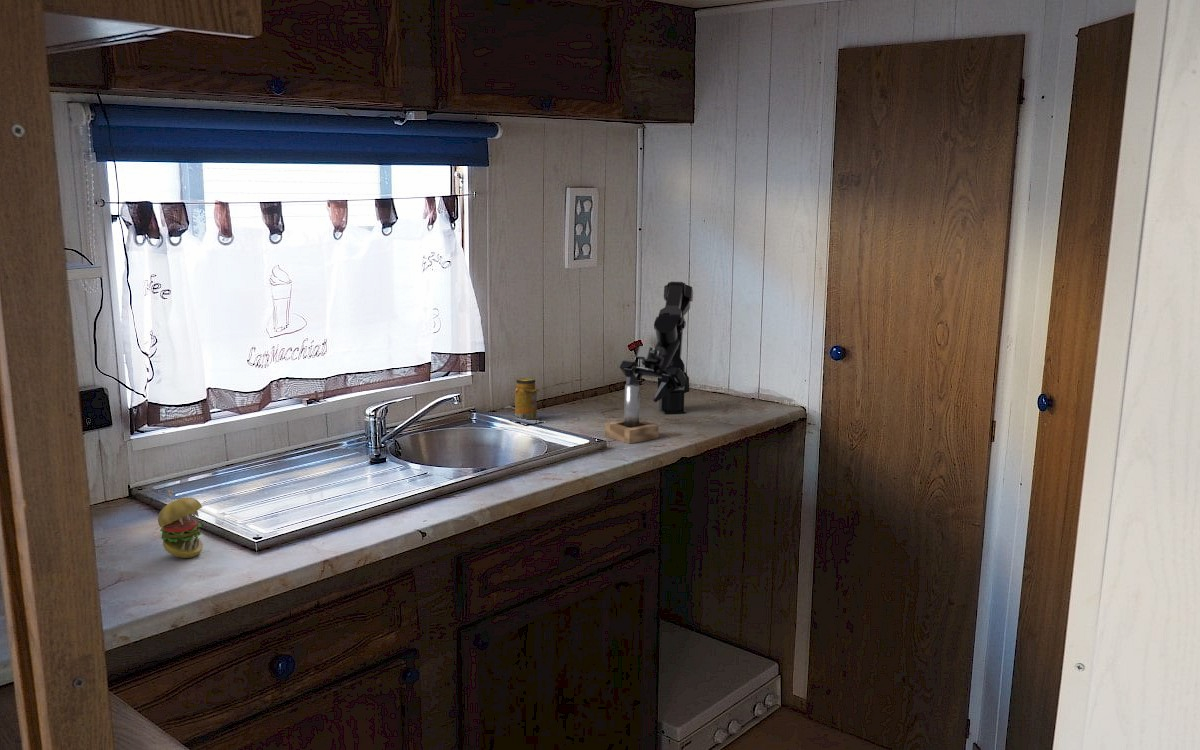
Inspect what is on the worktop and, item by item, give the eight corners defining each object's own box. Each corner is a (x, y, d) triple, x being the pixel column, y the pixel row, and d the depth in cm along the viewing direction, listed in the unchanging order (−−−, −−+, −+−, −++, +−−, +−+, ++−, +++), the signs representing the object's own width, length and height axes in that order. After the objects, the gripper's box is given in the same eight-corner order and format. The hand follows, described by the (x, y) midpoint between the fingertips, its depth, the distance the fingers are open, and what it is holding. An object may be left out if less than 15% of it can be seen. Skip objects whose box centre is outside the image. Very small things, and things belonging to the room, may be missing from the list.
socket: (633, 430, 278) (633, 418, 277) (658, 438, 270) (658, 425, 270) (604, 436, 272) (605, 423, 271) (629, 443, 264) (629, 430, 264)
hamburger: (188, 564, 179) (184, 498, 176) (151, 561, 180) (146, 495, 178) (213, 549, 186) (209, 485, 184) (177, 546, 187) (172, 483, 185)
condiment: (529, 417, 293) (528, 376, 291) (546, 422, 286) (546, 380, 284) (507, 420, 288) (507, 378, 286) (525, 426, 282) (525, 383, 280)
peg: (634, 434, 274) (635, 383, 271) (641, 437, 270) (642, 385, 268) (621, 436, 272) (622, 384, 269) (628, 439, 268) (629, 387, 266)
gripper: (623, 330, 279) (599, 376, 273) (681, 338, 268) (657, 386, 262) (639, 355, 287) (616, 400, 280) (696, 363, 276) (673, 410, 269)
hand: (640, 398), depth 273 cm, fingers open, 9 cm apart
